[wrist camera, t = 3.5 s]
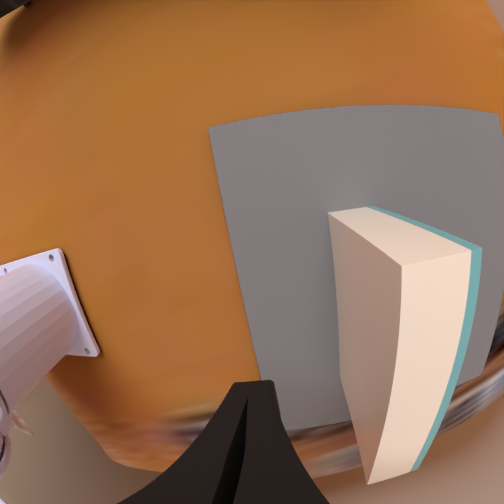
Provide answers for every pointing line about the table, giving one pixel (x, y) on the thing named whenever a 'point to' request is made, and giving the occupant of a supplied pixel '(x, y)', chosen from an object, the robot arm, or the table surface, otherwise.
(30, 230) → the table surface
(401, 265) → the tile
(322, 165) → the mat
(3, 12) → the magazine
